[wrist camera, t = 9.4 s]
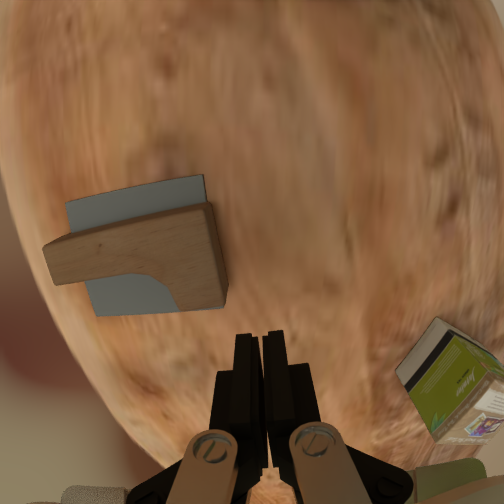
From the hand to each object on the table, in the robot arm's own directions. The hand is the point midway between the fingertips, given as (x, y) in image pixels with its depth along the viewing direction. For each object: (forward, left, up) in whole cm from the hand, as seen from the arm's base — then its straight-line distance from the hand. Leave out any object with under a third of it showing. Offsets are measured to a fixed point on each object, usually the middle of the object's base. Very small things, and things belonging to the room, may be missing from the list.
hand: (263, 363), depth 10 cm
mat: (+12, +1, -20) cm, 23 cm away
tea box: (-26, +22, -20) cm, 39 cm away
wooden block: (+3, +1, -17) cm, 17 cm away
